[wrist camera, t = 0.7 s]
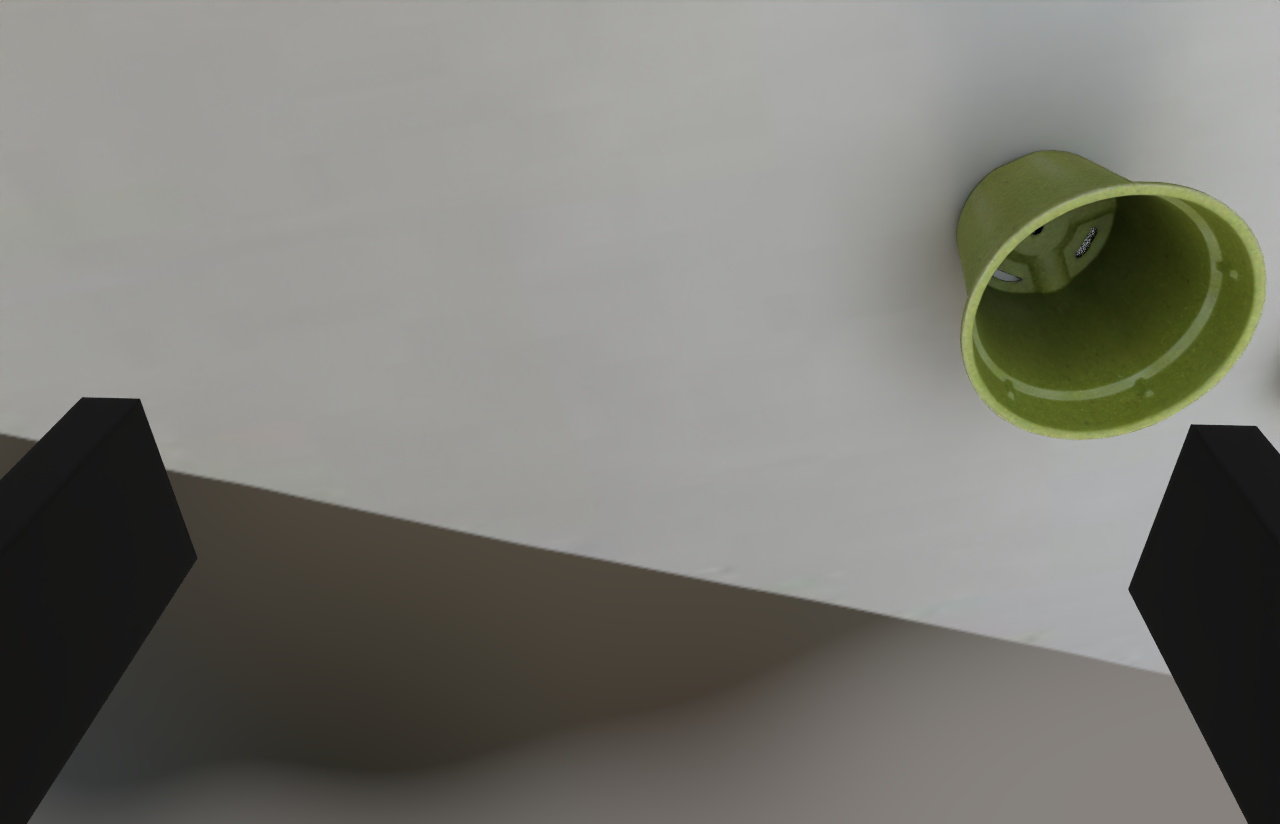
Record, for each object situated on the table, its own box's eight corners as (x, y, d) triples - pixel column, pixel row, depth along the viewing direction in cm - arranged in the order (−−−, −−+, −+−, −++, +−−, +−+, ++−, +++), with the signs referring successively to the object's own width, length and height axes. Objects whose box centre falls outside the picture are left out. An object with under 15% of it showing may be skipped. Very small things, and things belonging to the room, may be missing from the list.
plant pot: (978, 72, 35) (1048, 147, 28) (1208, 143, 36) (1333, 233, 29) (878, 291, 41) (915, 401, 33) (1081, 348, 41) (1161, 468, 34)
